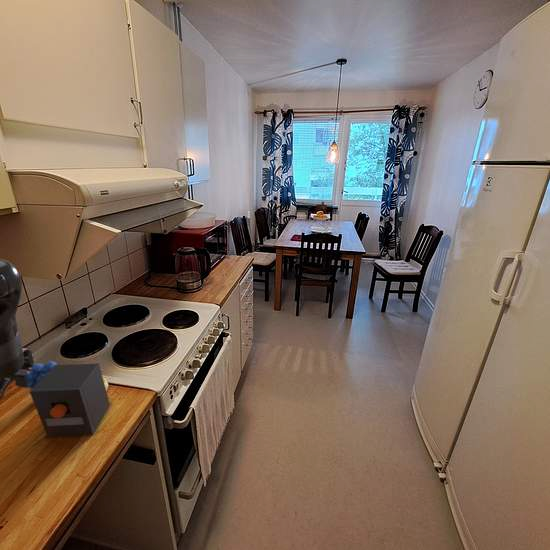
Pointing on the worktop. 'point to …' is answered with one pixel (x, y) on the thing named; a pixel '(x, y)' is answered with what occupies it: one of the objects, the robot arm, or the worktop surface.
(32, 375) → the grapes
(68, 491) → the worktop surface
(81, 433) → the push button control box
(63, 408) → the power button
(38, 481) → the worktop surface
